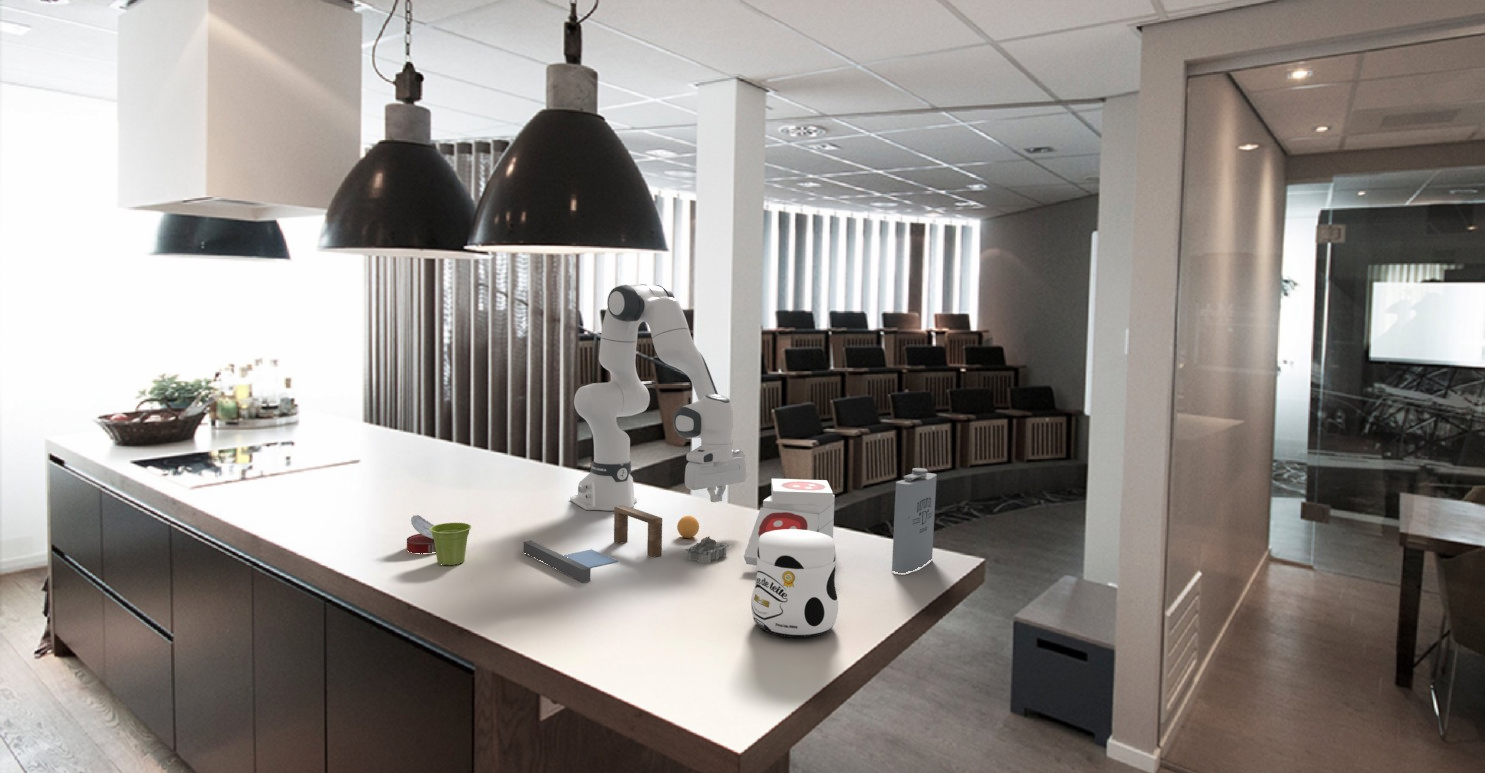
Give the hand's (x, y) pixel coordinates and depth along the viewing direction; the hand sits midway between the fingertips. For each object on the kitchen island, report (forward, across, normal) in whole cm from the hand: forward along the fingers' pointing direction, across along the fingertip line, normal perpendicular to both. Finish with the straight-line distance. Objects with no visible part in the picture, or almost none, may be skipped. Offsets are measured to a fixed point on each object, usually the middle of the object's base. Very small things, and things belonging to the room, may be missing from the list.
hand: (716, 501), depth 229 cm
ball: (+6, +10, -1) cm, 11 cm away
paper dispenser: (+10, 0, +30) cm, 32 cm away
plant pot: (+9, +69, -19) cm, 72 cm away
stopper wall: (+9, +50, -1) cm, 51 cm away
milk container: (+10, +32, +61) cm, 70 cm away
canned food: (+8, +69, -33) cm, 76 cm away
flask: (+10, -20, +53) cm, 58 cm away
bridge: (+9, +26, -1) cm, 28 cm away
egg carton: (+10, +16, +16) cm, 25 cm away
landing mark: (+9, +42, -1) cm, 43 cm away
